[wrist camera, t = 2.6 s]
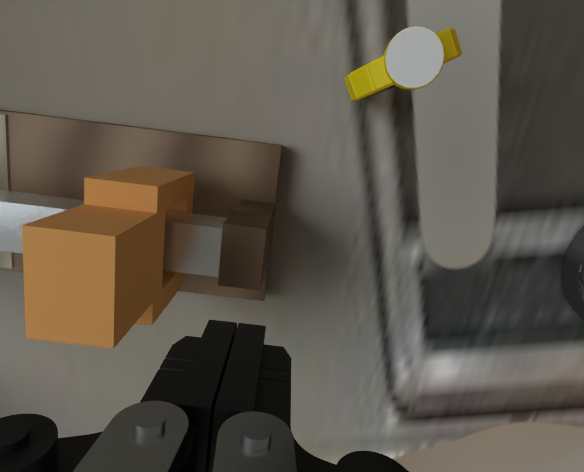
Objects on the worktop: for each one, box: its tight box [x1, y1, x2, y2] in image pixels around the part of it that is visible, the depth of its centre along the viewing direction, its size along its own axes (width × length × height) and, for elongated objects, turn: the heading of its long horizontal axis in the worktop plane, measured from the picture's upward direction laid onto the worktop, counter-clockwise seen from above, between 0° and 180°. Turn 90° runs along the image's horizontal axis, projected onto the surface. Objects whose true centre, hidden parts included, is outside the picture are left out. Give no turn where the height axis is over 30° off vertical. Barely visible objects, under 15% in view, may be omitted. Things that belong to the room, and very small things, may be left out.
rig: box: [0, 110, 282, 301], centre depth 22 cm, size 24×10×10 cm, turn 83°
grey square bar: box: [0, 190, 227, 277], centre depth 21 cm, size 20×3×3 cm, turn 83°
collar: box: [22, 166, 195, 348], centre depth 19 cm, size 3×6×10 cm, turn 173°
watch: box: [344, 26, 462, 101], centre depth 23 cm, size 6×3×6 cm, turn 113°
